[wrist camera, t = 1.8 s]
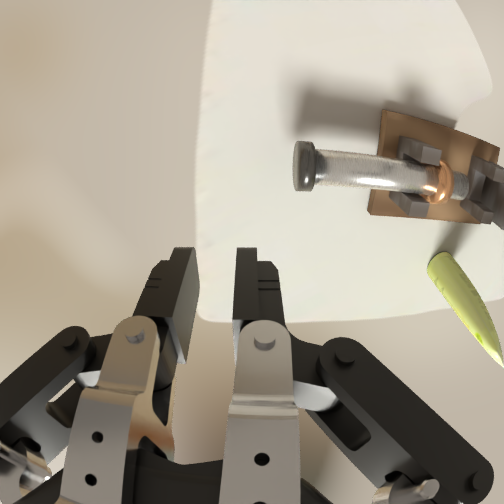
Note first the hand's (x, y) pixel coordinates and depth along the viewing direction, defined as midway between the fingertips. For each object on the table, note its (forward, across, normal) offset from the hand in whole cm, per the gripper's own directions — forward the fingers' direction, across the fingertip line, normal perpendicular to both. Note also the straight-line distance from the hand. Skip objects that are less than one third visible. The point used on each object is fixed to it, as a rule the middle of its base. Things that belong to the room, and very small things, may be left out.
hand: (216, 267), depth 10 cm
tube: (+19, -30, +14) cm, 38 cm away
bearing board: (+19, -25, 0) cm, 31 cm away
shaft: (+17, -15, 0) cm, 23 cm away
